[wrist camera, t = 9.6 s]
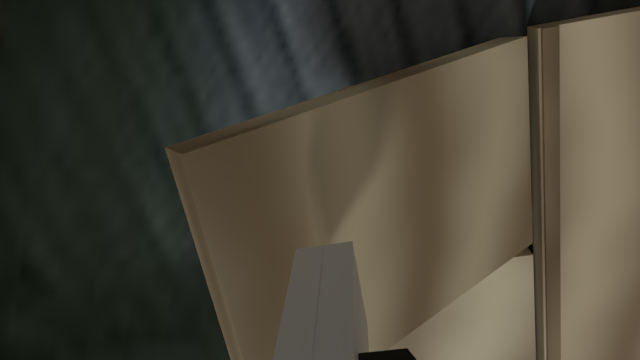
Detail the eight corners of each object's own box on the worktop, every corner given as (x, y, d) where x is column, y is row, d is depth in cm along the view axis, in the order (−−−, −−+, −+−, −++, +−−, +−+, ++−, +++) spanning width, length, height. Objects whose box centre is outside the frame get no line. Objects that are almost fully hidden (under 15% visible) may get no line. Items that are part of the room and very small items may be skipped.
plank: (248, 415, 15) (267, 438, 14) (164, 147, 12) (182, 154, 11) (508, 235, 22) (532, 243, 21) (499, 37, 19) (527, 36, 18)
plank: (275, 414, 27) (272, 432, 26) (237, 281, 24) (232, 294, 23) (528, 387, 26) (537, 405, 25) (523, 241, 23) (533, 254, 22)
